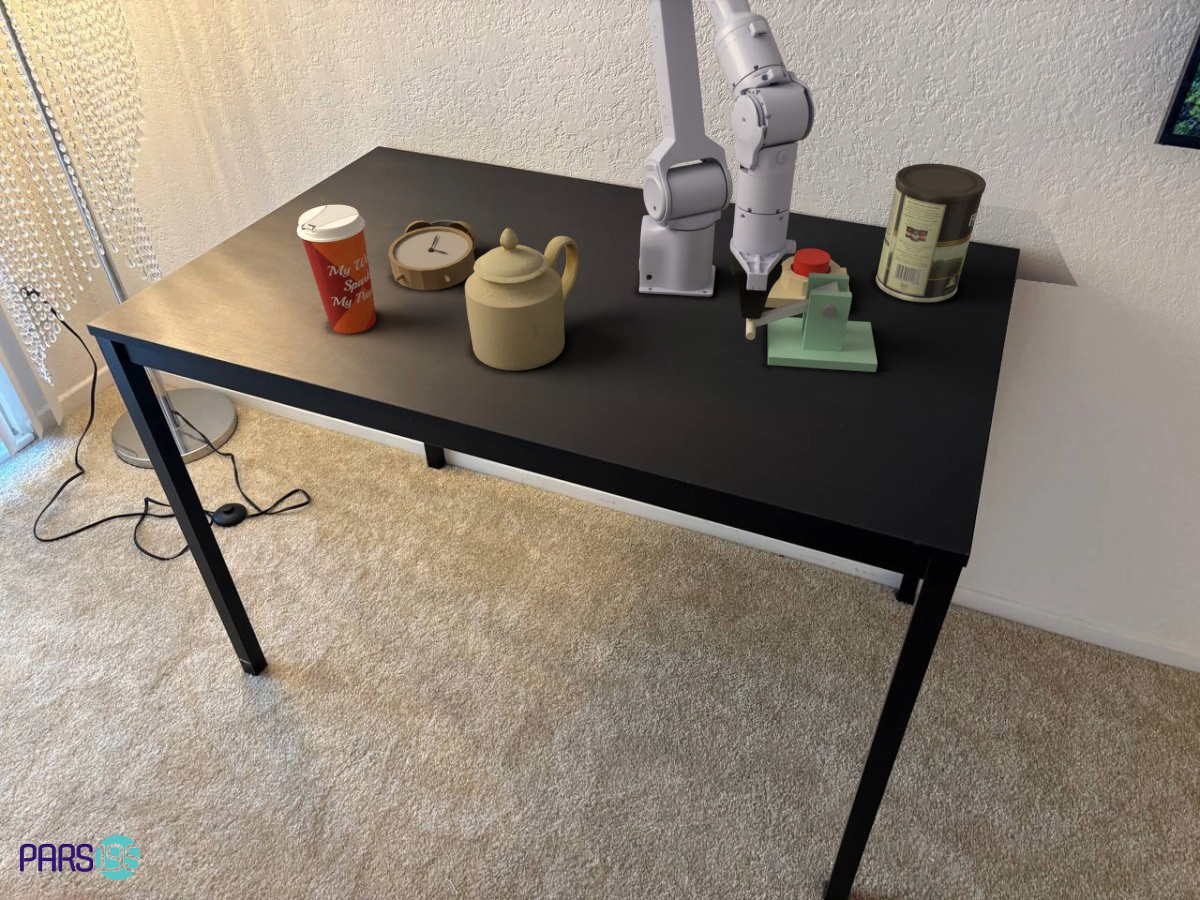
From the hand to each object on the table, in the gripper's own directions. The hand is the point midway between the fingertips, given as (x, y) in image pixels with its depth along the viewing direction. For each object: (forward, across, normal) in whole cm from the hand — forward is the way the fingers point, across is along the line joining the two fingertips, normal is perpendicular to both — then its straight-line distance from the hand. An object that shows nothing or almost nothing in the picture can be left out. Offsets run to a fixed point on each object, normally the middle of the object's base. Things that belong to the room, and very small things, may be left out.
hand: (750, 315), depth 100 cm
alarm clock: (+4, +15, +43) cm, 45 cm away
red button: (+1, +13, -7) cm, 15 cm away
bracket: (+4, 0, -8) cm, 9 cm away
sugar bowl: (+4, -2, +27) cm, 27 cm away
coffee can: (+4, +17, -21) cm, 28 cm away
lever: (0, 0, -5) cm, 5 cm away
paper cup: (+4, -1, +49) cm, 49 cm away
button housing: (+4, +13, -6) cm, 15 cm away
